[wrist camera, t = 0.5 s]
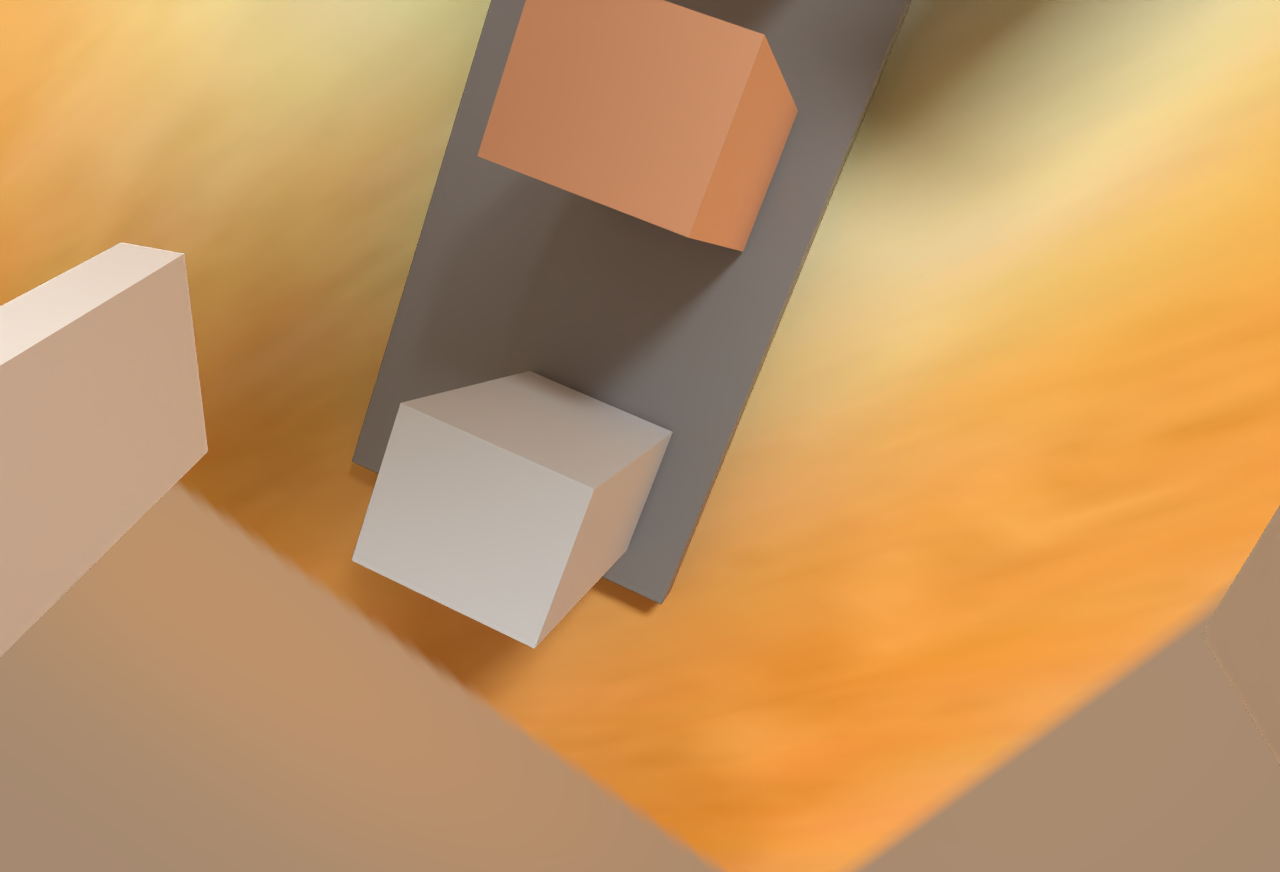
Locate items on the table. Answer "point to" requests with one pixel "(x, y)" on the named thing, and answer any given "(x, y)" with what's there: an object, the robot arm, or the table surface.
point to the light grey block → (509, 499)
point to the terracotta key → (644, 112)
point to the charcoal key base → (628, 271)
